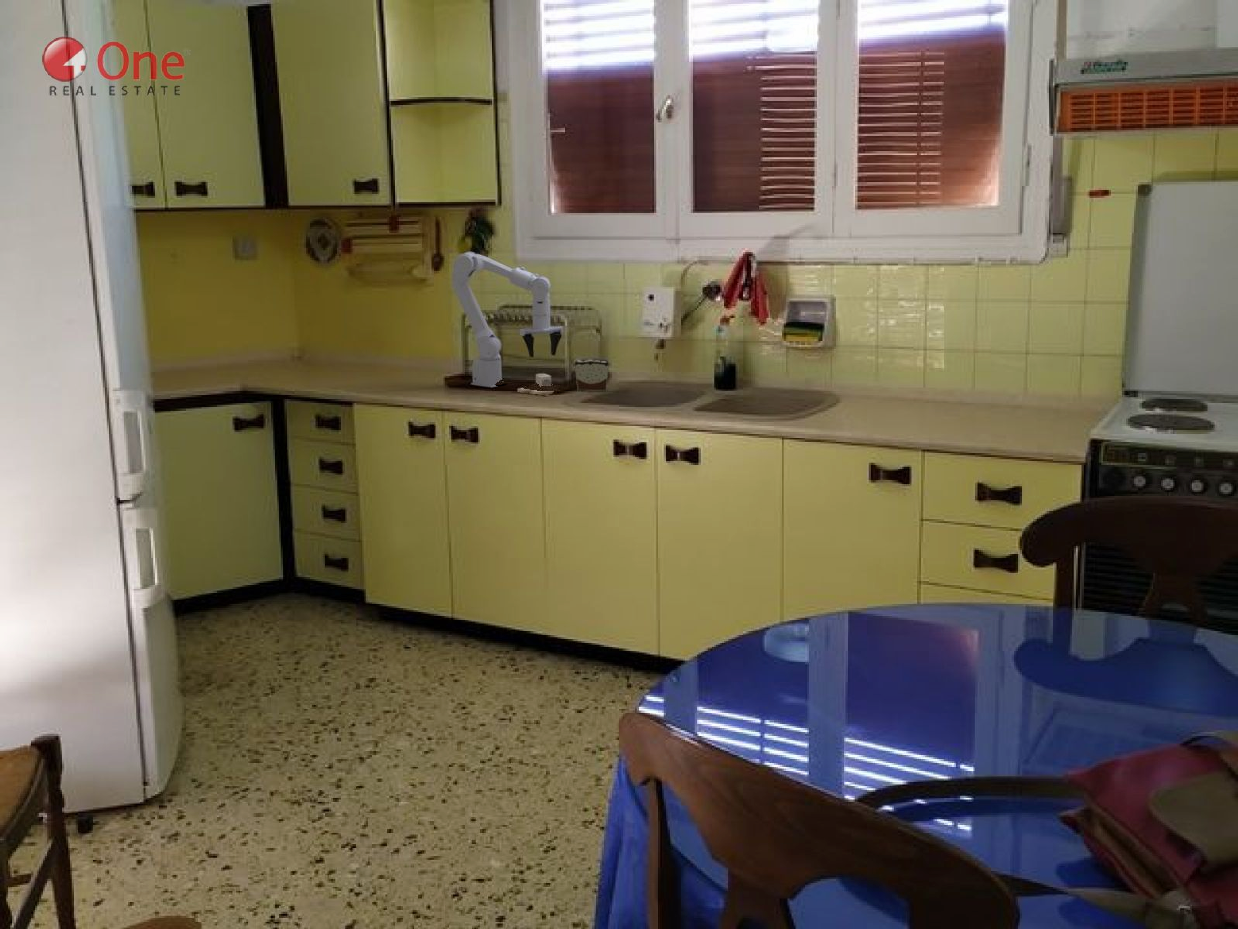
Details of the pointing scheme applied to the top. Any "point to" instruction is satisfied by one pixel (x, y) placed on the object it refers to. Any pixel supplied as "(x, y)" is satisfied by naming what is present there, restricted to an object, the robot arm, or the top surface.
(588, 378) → the food container
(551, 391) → the trivet
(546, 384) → the plug
